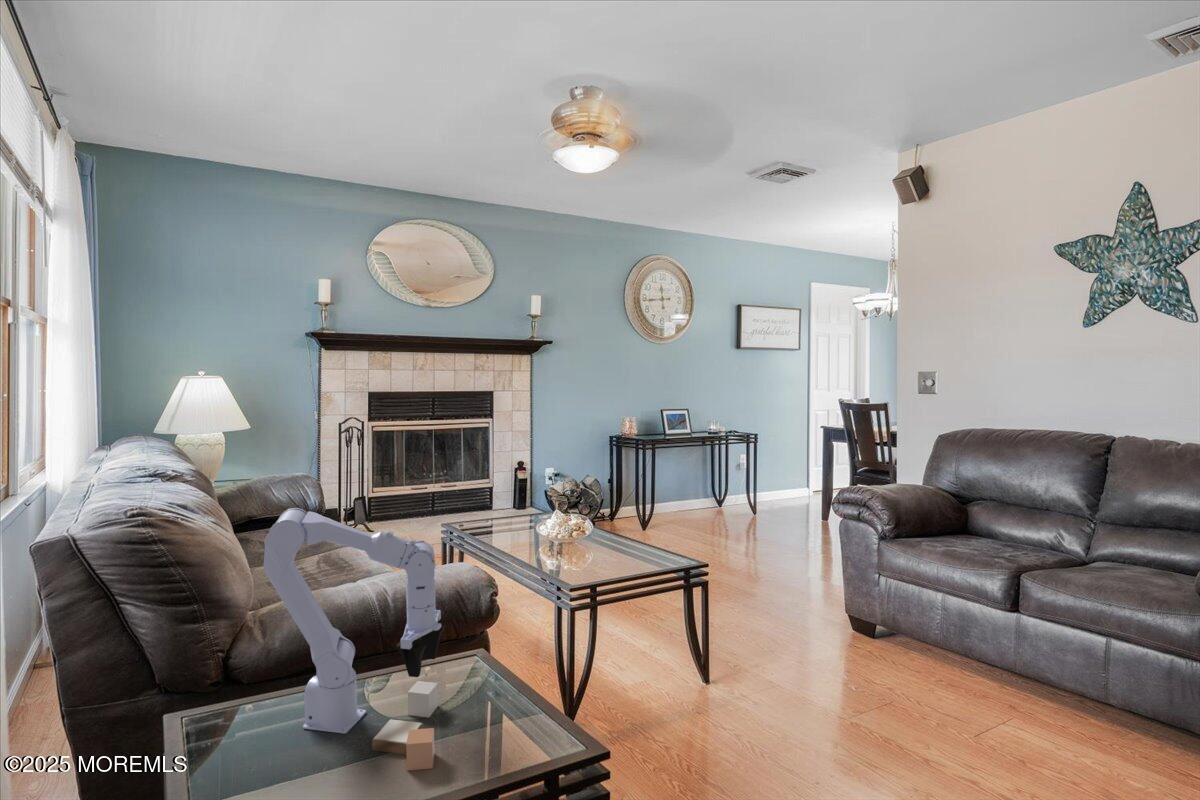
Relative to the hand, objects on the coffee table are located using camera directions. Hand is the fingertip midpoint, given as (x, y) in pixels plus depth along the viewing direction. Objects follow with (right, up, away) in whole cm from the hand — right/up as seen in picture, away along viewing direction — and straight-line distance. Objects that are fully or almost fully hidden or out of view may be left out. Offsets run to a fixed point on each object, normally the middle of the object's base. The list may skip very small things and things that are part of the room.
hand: (422, 666), depth 144 cm
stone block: (0, -9, +1) cm, 9 cm away
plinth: (-2, -11, -10) cm, 15 cm away
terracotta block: (+4, -11, -16) cm, 20 cm away
